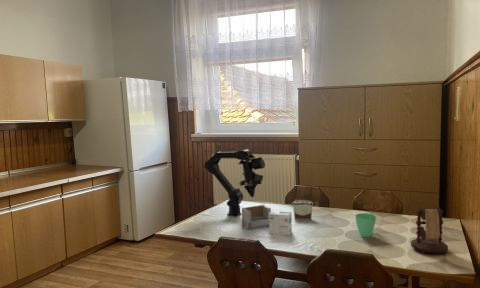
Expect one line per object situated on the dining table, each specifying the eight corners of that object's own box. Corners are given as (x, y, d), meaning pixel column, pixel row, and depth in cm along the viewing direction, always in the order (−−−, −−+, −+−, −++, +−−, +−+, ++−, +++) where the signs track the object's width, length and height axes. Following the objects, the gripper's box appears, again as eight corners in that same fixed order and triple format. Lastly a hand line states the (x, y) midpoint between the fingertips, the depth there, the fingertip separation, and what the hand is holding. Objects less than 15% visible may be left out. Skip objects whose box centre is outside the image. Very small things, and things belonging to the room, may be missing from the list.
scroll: (420, 256, 160) (421, 210, 158) (405, 244, 174) (405, 202, 173) (455, 255, 160) (456, 209, 158) (436, 243, 174) (437, 201, 173)
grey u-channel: (241, 227, 205) (241, 209, 204) (266, 222, 212) (266, 205, 211) (247, 230, 200) (246, 212, 199) (272, 225, 207) (272, 207, 206)
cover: (242, 226, 206) (241, 208, 205) (264, 222, 213) (264, 204, 212) (243, 226, 205) (242, 208, 205) (265, 222, 212) (264, 205, 211)
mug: (373, 240, 181) (374, 219, 180) (353, 237, 186) (353, 217, 185) (379, 231, 193) (379, 212, 192) (359, 228, 198) (359, 210, 197)
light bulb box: (292, 231, 196) (291, 211, 195) (289, 235, 190) (289, 215, 189) (272, 230, 199) (271, 210, 198) (268, 234, 193) (268, 213, 192)
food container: (312, 216, 223) (312, 199, 222) (313, 219, 217) (313, 202, 216) (291, 216, 224) (291, 199, 223) (292, 219, 218) (292, 202, 217)
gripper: (267, 167, 218) (271, 194, 217) (253, 169, 235) (257, 194, 234) (250, 170, 213) (254, 198, 212) (237, 172, 230) (241, 197, 229)
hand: (252, 196), depth 222 cm, fingers closed
